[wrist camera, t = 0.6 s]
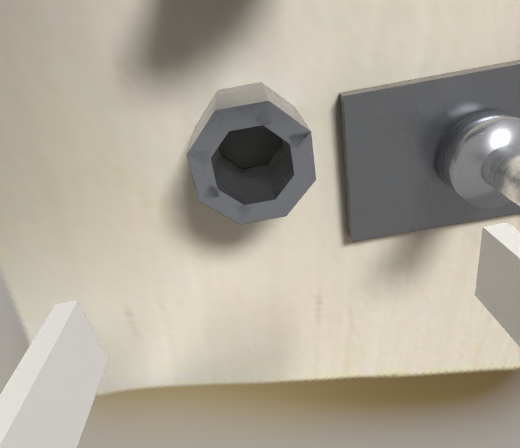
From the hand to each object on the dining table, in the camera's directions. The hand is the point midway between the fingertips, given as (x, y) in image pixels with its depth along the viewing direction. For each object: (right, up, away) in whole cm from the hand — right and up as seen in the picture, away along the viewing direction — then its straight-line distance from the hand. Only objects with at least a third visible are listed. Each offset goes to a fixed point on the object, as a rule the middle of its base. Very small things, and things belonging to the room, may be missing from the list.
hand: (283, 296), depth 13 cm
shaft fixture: (+14, +8, +18) cm, 24 cm away
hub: (-2, +9, +16) cm, 19 cm away
